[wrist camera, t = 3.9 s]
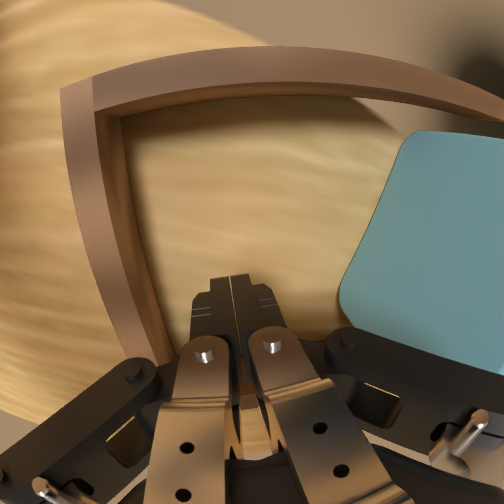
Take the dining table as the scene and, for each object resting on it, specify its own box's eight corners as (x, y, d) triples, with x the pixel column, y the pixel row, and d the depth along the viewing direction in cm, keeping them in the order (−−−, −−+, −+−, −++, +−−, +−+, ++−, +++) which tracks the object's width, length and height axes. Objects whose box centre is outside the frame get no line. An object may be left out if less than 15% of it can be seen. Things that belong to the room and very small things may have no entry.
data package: (378, 309, 19) (475, 430, 8) (330, 297, 18) (432, 449, 7) (446, 161, 15) (591, 210, 4) (405, 127, 14) (584, 157, 3)
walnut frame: (91, 98, 11) (60, 88, 8) (472, 99, 13) (505, 100, 10) (163, 380, 18) (159, 416, 15) (449, 314, 21) (471, 335, 17)
